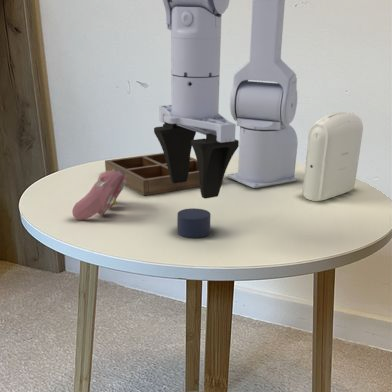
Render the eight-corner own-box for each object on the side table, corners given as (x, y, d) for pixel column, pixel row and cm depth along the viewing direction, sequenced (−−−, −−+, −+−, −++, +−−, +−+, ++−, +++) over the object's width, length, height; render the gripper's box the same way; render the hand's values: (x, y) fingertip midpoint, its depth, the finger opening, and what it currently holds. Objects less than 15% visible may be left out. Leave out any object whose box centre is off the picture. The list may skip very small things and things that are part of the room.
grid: (176, 164, 111) (176, 151, 110) (219, 183, 101) (220, 168, 100) (105, 174, 105) (104, 160, 104) (144, 195, 94) (143, 180, 93)
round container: (198, 224, 83) (199, 206, 82) (216, 234, 80) (216, 215, 79) (171, 230, 81) (171, 211, 80) (188, 240, 78) (188, 221, 77)
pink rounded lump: (97, 233, 84) (115, 190, 80) (68, 216, 84) (85, 173, 80) (118, 211, 92) (136, 171, 89) (92, 196, 92) (109, 156, 88)
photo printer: (319, 203, 92) (330, 119, 86) (297, 197, 95) (306, 114, 88) (357, 191, 98) (370, 111, 92) (336, 185, 101) (346, 107, 94)
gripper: (137, 69, 74) (140, 179, 81) (199, 84, 64) (197, 209, 71) (185, 67, 77) (185, 173, 84) (253, 80, 67) (246, 200, 74)
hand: (194, 189), depth 78 cm, fingers open, 7 cm apart
